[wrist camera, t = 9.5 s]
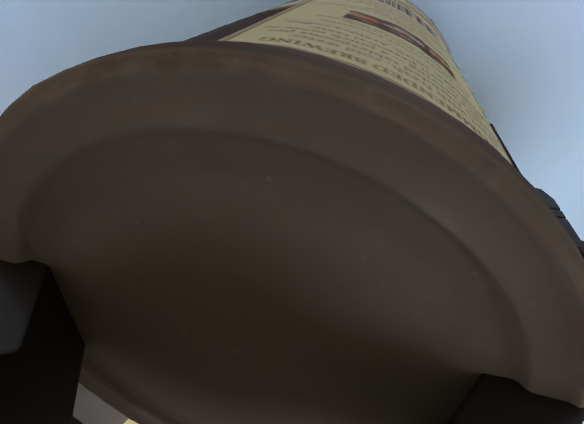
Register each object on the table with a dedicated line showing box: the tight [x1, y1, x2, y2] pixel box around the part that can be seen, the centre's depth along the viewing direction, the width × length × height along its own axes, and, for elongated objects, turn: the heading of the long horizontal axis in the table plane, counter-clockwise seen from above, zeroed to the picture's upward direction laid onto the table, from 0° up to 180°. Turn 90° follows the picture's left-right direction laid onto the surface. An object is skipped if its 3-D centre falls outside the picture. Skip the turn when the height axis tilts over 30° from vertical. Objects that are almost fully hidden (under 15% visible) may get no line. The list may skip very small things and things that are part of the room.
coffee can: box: [0, 0, 584, 424], centre depth 12 cm, size 10×10×14 cm
